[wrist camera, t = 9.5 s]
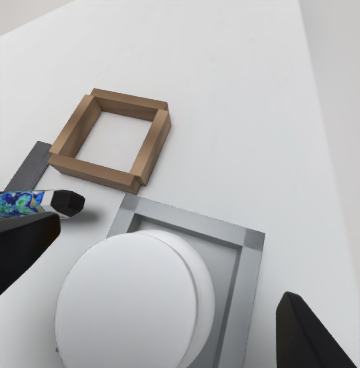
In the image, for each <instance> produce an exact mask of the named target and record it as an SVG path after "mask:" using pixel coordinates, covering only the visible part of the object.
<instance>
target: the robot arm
mask: <svg viewBox="0 0 360 368" xmlns="http://www.w3.org/2000/svg"><path fill="white" fill-rule="evenodd" d="M60 232H61V225H60V216H59V214H57V213H54V212H51V211H47V212H42V213H37V214H32V215H27V216H22V217H16V218H11V219H6V220H1V221H0V295H1V294H2V293H3V292H4V291H5V290H6V289H8V288H9V287H10V286H11V285H12V284H13V283H14V282H15V281H16V280H17V279H18V278H19V277H20V276H21V275H22V274H24V273H25V272H26V271H27V270H28V269H29V268H30V267H31V266H32V265H33V264H34V263H35V262H36V260H37V259H38V258H39V257H40V256H41V255H42V254H43V253H44V252H45V250H46V249H47V248H48V247H49V246H50V245H51V244H52V243H53V242H54V240H55V239H56V238H57V237H58V236H59V234H60ZM276 360H277V368H357V367H356V366H355V364H354V363H353V362H352V361H351V359H350V358H349V357H348V356H347V354H346V353H345V352H344V351H343V349H342V348H341V347H340V345H339V344H338V343H337V342H336V340H335V339H334V338H333V337H332V335H331V334H330V333H329V332H328V330H327V329H326V328H325V326H324V325H323V324H322V323H321V321H320V320H319V319H318V318H317V316H316V315H315V314H314V313H313V311H312V310H311V309H310V308H309V306H308V305H307V304H306V302H305V301H304V300H303V299H302V297H301V296H299V295H298V294H295V293H292V292H289V291H287V292H285V293H284V295H283V297H282V299H281V301H280V303H279V305H278V307H277V310H276Z"/></svg>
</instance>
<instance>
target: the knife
mask: <svg viewBox="0 0 360 368" xmlns="http://www.w3.org/2000/svg"><path fill="white" fill-rule="evenodd" d="M84 203H85V198H84V197H83V196H81V195H79V194H77V193H75V192H73V191H68V190H34V191H4V192H0V218H16V217H22V216H27V215H32V214H37V213H42V212H47V211H51V212H54V213H57V214H59V216H60V219H67V218H71V217H72V216H74V215H75V214H77V213H79V212H80V211H81V210H82V209H83V207H84Z"/></svg>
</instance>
